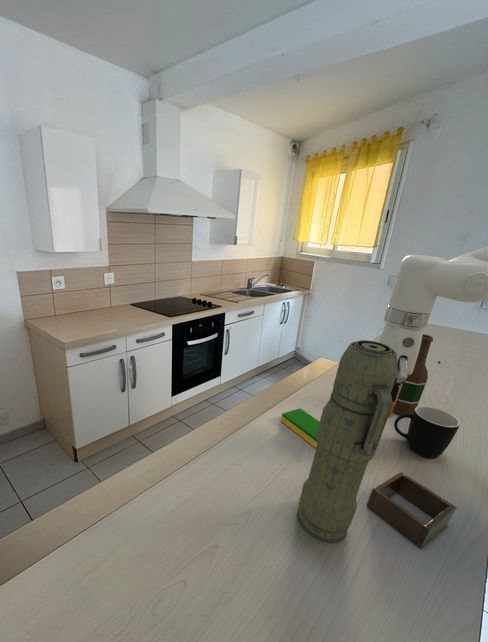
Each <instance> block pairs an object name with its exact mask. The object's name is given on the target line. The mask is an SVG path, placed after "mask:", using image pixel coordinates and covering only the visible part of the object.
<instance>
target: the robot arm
mask: <svg viewBox="0 0 488 642" xmlns="http://www.w3.org/2000/svg"><path fill="white" fill-rule="evenodd" d="M437 297H440V298H445V299H449V300H452V301H456V302H461V303H468V304H470V303H472V304H473V303H479V302H482V301H483V302H484V301H486V300H488V245H487V246H484V247H482V248H479V249H476V250H473V251H469V252H466V253H463V254H460V255H458V256H456V257H453V258H451V259H449V260H446V259H445V258H443V257H439V256H433V255H432V256H431V255H424V254H423V255H422V254H411V255H407V256H405V257H404V258H403V259H402V261H401V263H400V266H399V269H398V272H397V276H396V279H395V283H394V285H393V289H392V291H391V295H390V299H389V301H388V305H387V308H386V311H385V315H384V318H383V322H384V323H385V324H384V326H383V329H382V332H381V335H380V337H379V339H378V343H382V344H385V345H387V346H389V347H390V348H392V349H393V350H394V351H395V352H396V353H397V365H398V373H397V376H396V379H395V382H394V385H393V388H392V391H391V396H392V402H395V399H396V397H397V394H398V391H399V388H400V387H401V385H402V383H403V382H404V381H405V380H406V379H407V377H408V376H407V375H411V374H412V372H413V369H414V366H415V363H416V360H417V356H418V353H419V349H420V345H421V341H422V335H423V334H424V330H425V329H426V327H427V325H428V321H429V319H430V317H431V313H432V311H433V308H434V305H435V302H436V300H437Z"/></svg>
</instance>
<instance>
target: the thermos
mask: <svg viewBox="0 0 488 642" xmlns="http://www.w3.org/2000/svg"><path fill="white" fill-rule="evenodd" d="M397 373H398V365H397V353H396V352H395V351H394V350H393V349H392V348H390V347H389V346H387V345H385V344H382V343H379V341H374V340H368V339H367V340H365V339H363V340H362V339H361V340H357V341H352V342H351V343H349V345H348V346H347V348H346V349H345V351H343V353H342V355H341V357H340V359H339V363H338V367H337V370H336V374H335V378H334V382H333V386H332V391H331V393H330V397H329V399H328V401H327V402H326V404H324V406H323V408H322V412H321V415H320V420H319V421H320V423H319V427H318V431H317V436H316V438H317V442H318V443H317V447H316V448H315V451H314V456H313V459H312V462H311V467H310V471H309V474H308V478H307V479H306V480H305V481H304V482H303V484H302V489H301V493H300V497H299V500H298V508H297V513H296V515H297V516H296V517H297V521H298V522H299V525H300V527H301V528H302V529H303V530H304V531H305V532H306V533H307V534H308V535H309V536H311V537H312V538H314V539H316V540H318V541H321V542H323V543H329V544H334V543H339V542H341V541H342V540H344V539H345V537H346V536H347V533H348V530H349V528H350V527H351V525H352V522H353V519H354V516H355V514H356V510H357V508H358V507H357V504H358V503H357V502H358V501H357V496H358V493H359V490H360V487H361V484H362V481H363V479H364V476H365V473H366V470H367V467H368V465H369V462H370V461H371V460H372V459H373V458H374V457H375V454H376V452H377V448H378V447H379V444H380V441H381V438H382V436H383V433H384V430H385V427H386V425H387V421H388V419H389V418H388V416H389V413H390V410H391V407H392V404H393V403H392V396H391V391H392V388H393V385H394V382H395V379H396V376H397ZM387 418H388V419H387Z"/></svg>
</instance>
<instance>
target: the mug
mask: <svg viewBox="0 0 488 642" xmlns="http://www.w3.org/2000/svg"><path fill="white" fill-rule="evenodd" d="M407 418H408V419H410V422H409V426H408V430H407V433H404V432H402V431H401V430H400V429H399V428H398V424H399V421H400V420H402V419H407ZM460 425H461V422H460V420H459V419H458V418H457V417H456V416H454V414H451V413H449V412H448V411H445V410H443V409H440V408H437V407H434V406H429V405H417V407H416V408H415V410H414V412H413V413H412V414H404V415H399V416H397V417H396V418H395V420H394V422H393V427H394V430H395V431H396V433H397V434H398V435H400V436H401V437H403V438H404V439H406V443H407V446H408V448H409V449H410V450H411V451H412V452H413V453H415V454H416V455H419V456H421V457H424V458H427V459H436V458H438V457H440V456H441V455H442V454H443V453H444V452H445V451H446V450H447V448H448V447H449V445H450V444H451V442H452V441H453V439H454V437H455V436H456V435H457V432H458V430H459V428H460Z"/></svg>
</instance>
